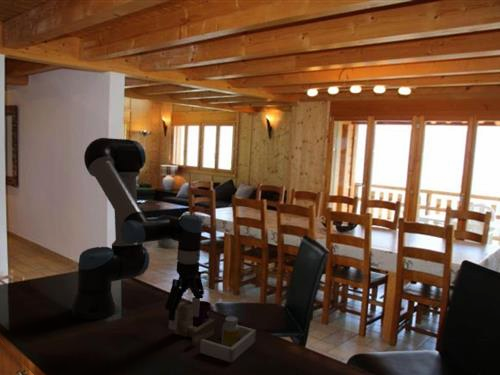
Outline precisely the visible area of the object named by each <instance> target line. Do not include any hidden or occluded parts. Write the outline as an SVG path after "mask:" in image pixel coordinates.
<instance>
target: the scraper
mask: <svg viewBox="0 0 500 375" xmlns="http://www.w3.org/2000/svg"><path fill="white" fill-rule="evenodd" d="M176 310H178V317H177V330H173V334H175V335H178V336H182V337H186V338H188V337H189V338H191V346H192V347H197V346H198V345H200V344H201V340H202V339H204V340H207V339H208V338H210V337H211V336H213V335H214V334H215V324H216V319H215V318H210V320H208V321H207V322H205V323H204V324H202V325H198V326H196V325H194V324H193V314H194V305H192V304H190V303H189V304H188V302H183V301H180V303H179V305H178V307H177V309H176Z"/></svg>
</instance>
